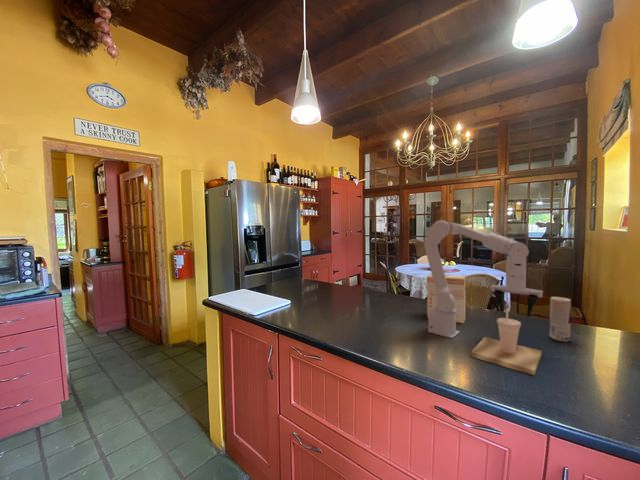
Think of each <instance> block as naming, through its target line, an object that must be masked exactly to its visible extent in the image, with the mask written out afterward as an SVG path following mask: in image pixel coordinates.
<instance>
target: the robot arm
mask: <svg viewBox="0 0 640 480" xmlns="http://www.w3.org/2000/svg"><path fill="white" fill-rule="evenodd" d="M449 234H450V235H461V236H463V237H464V236H465V237H467V238H470V239H473V240H476V241H478V242H481V244H482V246H483V247H484V248H486V249H489V250H492V251H494V252H497V253H500V254H505V255H506V261H505V262H506V263H505V285H498V284H491V286H490V291H492V292H493V295H494V297H495V299H496V301H497V303H498V305H499V309H500V313H504V312H505V296H506V295H505V294H506V293H510V294H517V295H523V296H527V297H526V298H527V300H526V301H527V309H526V310H527V311H526V312H527V313H526V315H527V317H528V318H531V315H532V311H533V308H534V306H535V304H536V302H537V300H538V298H543V295H544V294H543V293H544V291H543V290H540V289H533V288H528V287H527V256H529V253H530V250H529V249H528V246H527V245H526V244H525V243H523V242H519V241H517V240H515V238H513V237H509V238H508V237H506V236H504V235H503V236H502V235H500V232H497V231H495V232H492V231H491V232H488V233H484V232H481V231H478V230H476V229H474V228H470V227H468V226H466V225H463V224H460V223H456V222H451V221H449V222H447V221H446V220H445V219H444V220H443V219H442V220H437V221H435V222H434V223H433V224H432V225H431V226H430V228H429V230H428V233H427V234H426V238H425V240H424V242H423V247H424V250H425V253H426V258H427V262H428V264H429V269H430V272H431V273H430V274H432V277H433V280H434V284H435V288H436V294H437V303H436V304H437V307H436V308H431V309H430V311H429V316H428V317H427V319H428V328H427V329H428V330H427V332H428V333H431V334H433V335H434V334H435V335H438V336H442V337H446V338H450V339H454V338H455V337H457V335H458V334H460V330H456V329H457V327H456V325H457V322H456V310H455V309H454V308H455V303H454V296H453V295H452V293H451V292H450V290H449V287H448V284H447V281H446V277H445V275H446V274H445V270H444V266H443V263H442V259H441V256H440V255H441V254H440V252H439V247H438V245H439V244H440V243H441V241H442V240H443V239H444V238H446V237H447V236H448V235H449Z"/></svg>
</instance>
